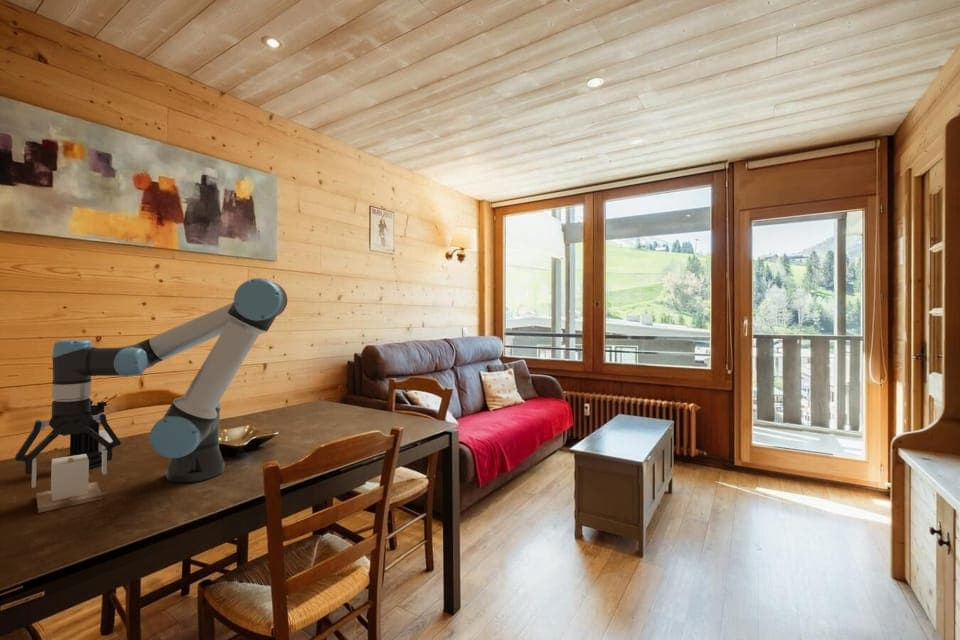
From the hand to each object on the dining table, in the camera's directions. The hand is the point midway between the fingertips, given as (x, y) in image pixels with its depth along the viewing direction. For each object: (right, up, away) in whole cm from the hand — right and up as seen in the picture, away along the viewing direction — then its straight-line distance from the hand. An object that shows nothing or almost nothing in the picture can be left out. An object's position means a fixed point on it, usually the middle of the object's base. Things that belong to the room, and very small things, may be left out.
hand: (70, 479), depth 116 cm
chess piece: (-17, -4, +23) cm, 28 cm away
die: (-23, -4, +34) cm, 41 cm away
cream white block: (-1, -4, 0) cm, 4 cm away
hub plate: (0, -5, 0) cm, 5 cm away
